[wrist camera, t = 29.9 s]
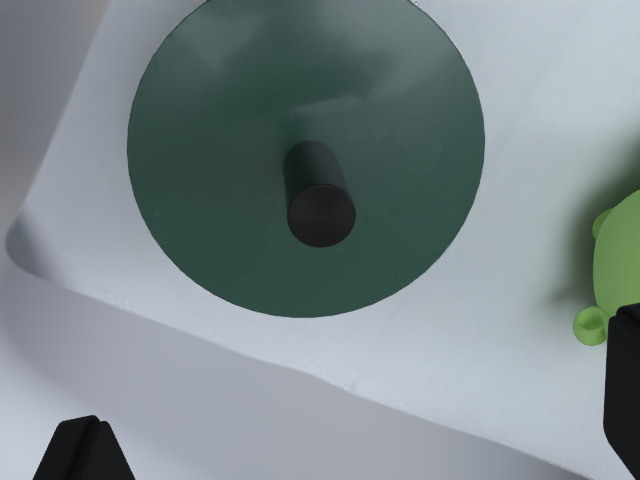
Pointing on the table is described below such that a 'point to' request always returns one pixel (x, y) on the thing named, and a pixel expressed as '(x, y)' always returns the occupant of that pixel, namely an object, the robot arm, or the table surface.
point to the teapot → (612, 269)
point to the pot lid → (305, 150)
